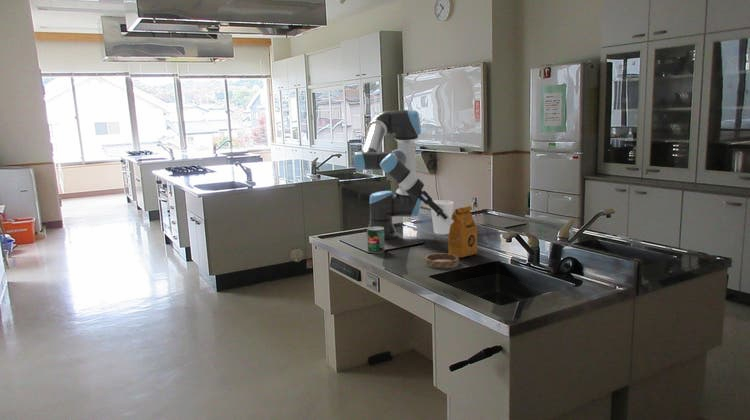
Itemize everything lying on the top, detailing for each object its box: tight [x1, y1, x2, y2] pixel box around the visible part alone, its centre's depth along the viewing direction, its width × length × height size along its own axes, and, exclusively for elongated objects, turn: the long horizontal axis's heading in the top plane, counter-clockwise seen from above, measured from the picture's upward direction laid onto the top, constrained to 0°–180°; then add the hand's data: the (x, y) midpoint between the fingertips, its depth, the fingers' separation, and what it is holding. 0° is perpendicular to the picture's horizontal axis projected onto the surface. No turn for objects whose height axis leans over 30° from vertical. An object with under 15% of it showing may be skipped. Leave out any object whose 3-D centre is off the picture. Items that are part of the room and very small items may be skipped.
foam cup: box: [429, 199, 454, 235], centre depth 225 cm, size 10×9×13 cm
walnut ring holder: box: [424, 252, 460, 270], centre depth 228 cm, size 14×14×3 cm
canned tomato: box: [366, 226, 385, 254], centre depth 250 cm, size 8×8×11 cm
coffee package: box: [447, 205, 478, 258], centre depth 239 cm, size 10×12×22 cm
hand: (449, 221), depth 225 cm, fingers closed on foam cup, 9 cm apart
